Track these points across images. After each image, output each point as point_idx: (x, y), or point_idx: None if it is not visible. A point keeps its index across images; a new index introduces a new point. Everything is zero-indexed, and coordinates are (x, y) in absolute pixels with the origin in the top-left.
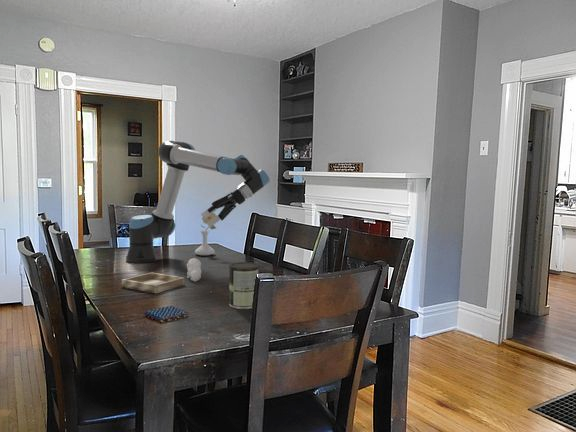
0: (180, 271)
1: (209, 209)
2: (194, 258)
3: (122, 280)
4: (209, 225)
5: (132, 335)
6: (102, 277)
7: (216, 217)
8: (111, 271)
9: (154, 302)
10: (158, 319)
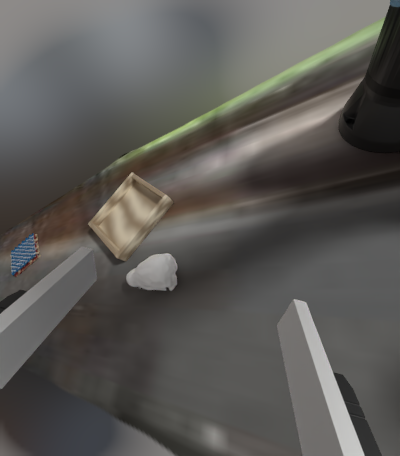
0: (238, 240)
1: (3, 309)
2: (150, 268)
3: (131, 174)
4: (282, 324)
5: (7, 236)
6: (199, 133)
7: (321, 427)
8: (244, 123)
9: (66, 234)
10: (14, 249)
